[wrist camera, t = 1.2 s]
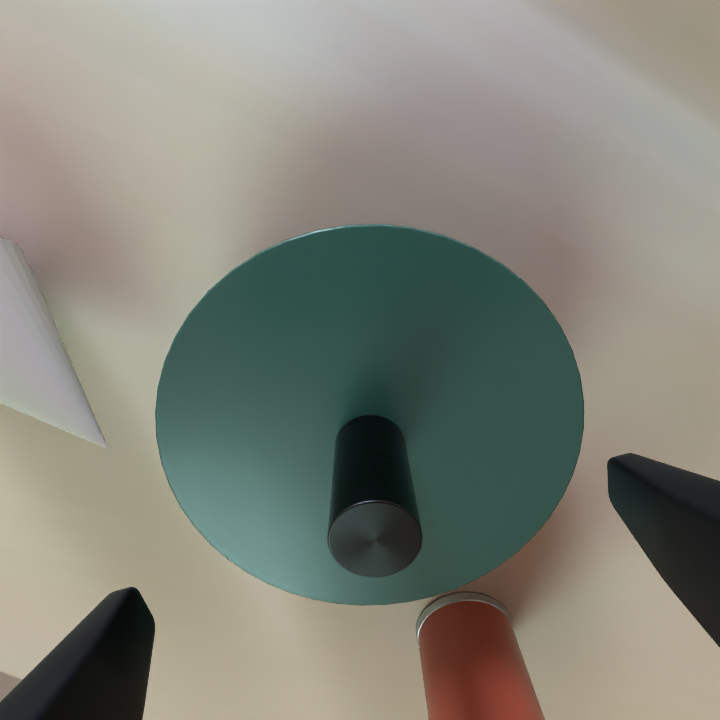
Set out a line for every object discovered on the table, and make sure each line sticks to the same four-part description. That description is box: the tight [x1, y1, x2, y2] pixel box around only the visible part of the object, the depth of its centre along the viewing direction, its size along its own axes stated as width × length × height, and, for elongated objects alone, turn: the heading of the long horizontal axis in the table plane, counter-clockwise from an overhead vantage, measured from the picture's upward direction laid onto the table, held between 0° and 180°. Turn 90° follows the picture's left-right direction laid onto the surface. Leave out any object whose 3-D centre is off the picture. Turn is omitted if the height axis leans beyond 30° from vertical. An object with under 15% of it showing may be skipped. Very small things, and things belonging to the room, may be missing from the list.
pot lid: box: [155, 224, 584, 605], centre depth 15 cm, size 16×16×6 cm
